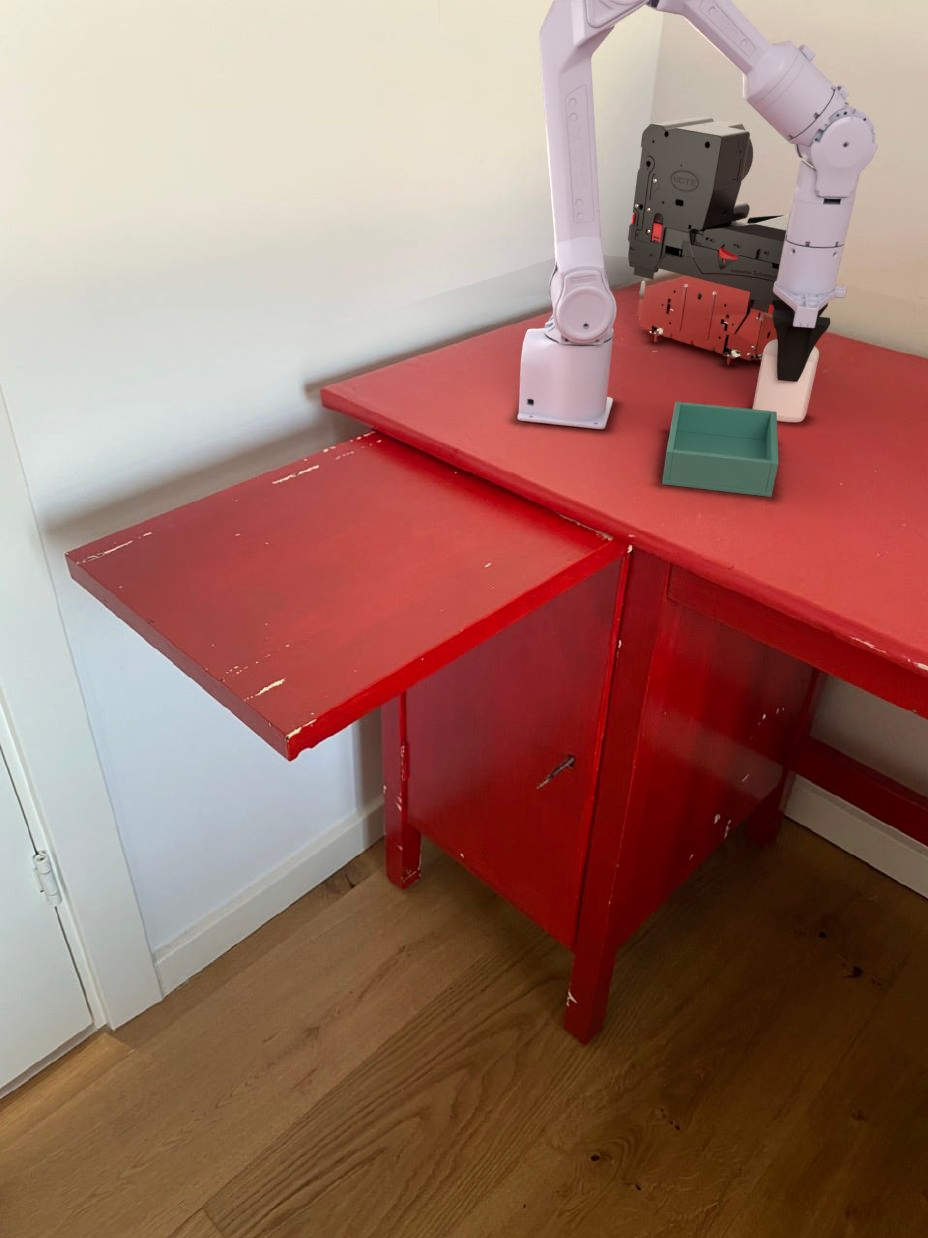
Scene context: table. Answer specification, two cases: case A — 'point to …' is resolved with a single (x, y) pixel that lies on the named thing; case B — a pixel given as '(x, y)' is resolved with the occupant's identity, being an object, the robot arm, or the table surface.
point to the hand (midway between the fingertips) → (787, 372)
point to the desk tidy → (722, 449)
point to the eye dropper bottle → (784, 387)
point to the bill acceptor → (703, 240)
